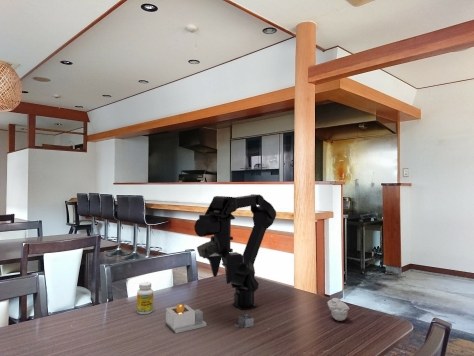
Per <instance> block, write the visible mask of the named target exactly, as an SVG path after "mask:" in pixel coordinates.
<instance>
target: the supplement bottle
mask: <svg viewBox="0 0 474 356" xmlns="http://www.w3.org/2000/svg"><path fill="white" fill-rule="evenodd" d="M138 288H139V289H138V290H137V293H136V313H137V314H139V315H148V314H150V313H152V312H153V311H154V290H153V288H152V283H151V282H149V281H144V282H140V283H139V287H138Z"/></svg>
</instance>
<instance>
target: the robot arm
mask: <svg viewBox="0 0 474 356" xmlns="http://www.w3.org/2000/svg"><path fill="white" fill-rule="evenodd" d="M248 207H250V212H251V213H252V221H253V225H252V229H251V232H250V235H249V236H248V240H247V242H246V244H245V248H244V251H243V253H239V252H236V251H235V252H234V249H233V248H231V244H232V243H231V242H232V241H233V240H234V236H233V235H231V233H232V232H231V231H232V230H231V229H232V225H231V222H232V220H235V219H236V217H235V216H234V215H233V214H232V213H234V212H237V210H238V209H242V208H248ZM276 217H277V210H276V209H275V208H274V206H273V204H272V203H270V202H269V201H267V200H266V199H265V198H264V196H263V195H261V194H254V193H252V194H249V195H241V196H225V195H224V196H222V195H215V196H213V197H212V200H211V202H210V204H209V205H208V207H207V210H206V211H205V213H204V214H200V215H198V219H196V221H195V224H194V225H193V227H194V231H195V235H197V237H201V238H202V237H208V236H211V237H210V240H209V241H206V242H204V243H202V244H201V245H198V246H196V249H197V253H198V256H199V257H201V258H203V259H206V260H207V261H208V262H209V265H210V268H211V273H212V277H214V278H216V277H218V273H219V269H220V265H222V266H223V267H224V270H225V281H226V284H227V285H228V284H230V285H231V288H234V289H235V290H234V291H235V292H234V293H233V302H232V305H234V306H235V307H237V308H238V309H240V310H246V309H252V308H256V307H257V304H255V292H256V291H258V289H259V286H260V285H259V282H258V281H257V279H256V278H255V274H256V269H255V266H254V265H255V261H256V259H257V256H258V254H259V250H260V248H261V244H262V242H263V240H264V236H265V233H266V231H267V230H268V229H269V228H270V227H271V226H272V225H273V224H274V222H275V219H276Z"/></svg>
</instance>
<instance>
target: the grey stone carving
mask: <svg viewBox="0 0 474 356" xmlns="http://www.w3.org/2000/svg"><path fill="white" fill-rule="evenodd" d="M327 307H328V309H329V310H330V311H331V316H332V318H333V319H334V320H336V321H341V322H342V321H344V320H346V318H347V316H348V311H349V310H350V307H349V305H347V304H346V303H345V302H343V301H342V300H340V298H337V297H333V298H332V299H329V300H328V301H327Z"/></svg>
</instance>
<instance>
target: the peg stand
mask: <svg viewBox="0 0 474 356" xmlns="http://www.w3.org/2000/svg"><path fill="white" fill-rule="evenodd" d="M184 305H185V304H184V303H178V304H176V306H177V312H176V313H181V312H184ZM193 310H194V311H195V325H191V326H186V327H182V328H178V329H173V328H172V327H171V326H170V325H169V324H168V323H167V322H166V321H165V323H166V325H167V326H168V327H169V328H170V329H171V330H172V331H173V332H174V333H175V334H178V333H183V332H189V331H191V330H195V329H200V328H204V327H207V322H206V321H204V320H203V319H204V318H203V316H204V313H203V311H202V310H201V309H199V308H198V309H193Z"/></svg>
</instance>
